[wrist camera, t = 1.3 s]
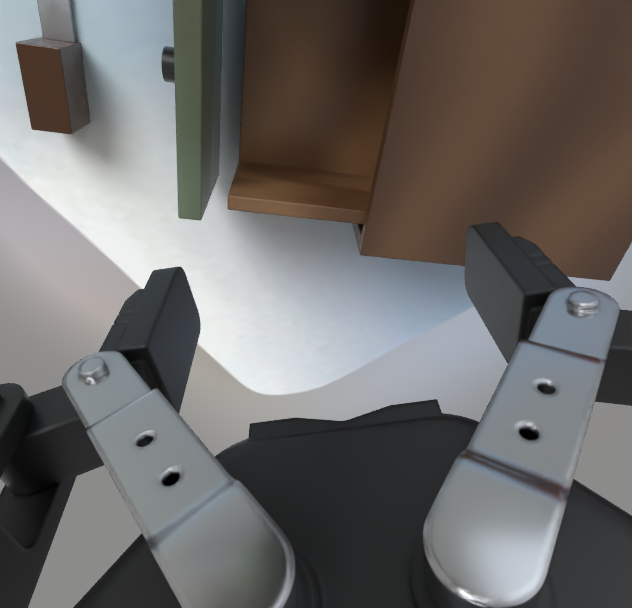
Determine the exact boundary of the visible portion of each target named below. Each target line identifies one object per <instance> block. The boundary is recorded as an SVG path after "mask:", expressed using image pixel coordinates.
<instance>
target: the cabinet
mask: <svg viewBox="0 0 632 608" xmlns="http://www.w3.org/2000/svg"><path fill="white" fill-rule="evenodd" d="M490 222H499V223H500V224H501V225H502V226H503V227H504V229H505V230H506V231H507V232H508V233H509V234H510V235H511V236H512V237H516V236H520V237H522V238H524V239H526V240H528V241H531V242H533V243H535V244H536V245H537V246H538V247H539V248H540V249H541V250H542V251H543V252H544V253H545V256H547V257H548V258H549V259H550V260H551V261H552V263H553V264H555V265H556V266H557V267H558V268H559V269H560V270H561V271H562V272H563V273H564V274H565V275H566V276H567V277H577V278H587V279H596V280H606V281H610V280H611V278H612V276H613V274H614V272H615V271H616V269H617V267H618V265H619V264H620V262H621V260H622V258H623V257H624V255H625V253H626V251H627V249H628V248H629V246H630V244H631V242H632V0H411V1H410V6H409V10H408V15H407V20H406V25H405V29H404V34H403V39H402V44H401V49H400V53H399V58H398V63H397V68H396V72H395V77H394V82H393V87H392V92H391V96H390V101H389V106H388V111H387V115H386V120H385V125H384V130H383V135H382V139H381V144H380V149H379V154H378V158H377V163H376V168H375V173H374V178H373V182H372V187H371V192H370V197H369V201H368V206H367V211H366V216H365V221H364V224H355V223H352V224H353V228H354V232H355V236H356V240H357V243H358V247H359V251H360V255H364V256H373V257H383V258H393V259H402V260H412V261H422V262H431V263H441V264H451V265H460V266H465V256H466V236H467V229H468V227H469V226H470V225H476V224H483V223H490Z"/></svg>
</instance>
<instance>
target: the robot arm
mask: <svg viewBox="0 0 632 608" xmlns="http://www.w3.org/2000/svg"><path fill="white" fill-rule="evenodd" d="M465 285H466V290H467V293H468V296H469V298H470V299H471V301H472V303H473V304H474V306H475V308H476V309H477V311H478V313H479V315H480V316H481V318H482V320H483V321H484V323H485V325H486V327H487V329H488V330H489V332H490V334H491V336H492V337H493V339H494V341H495V342H496V344H497V346H498V348H499V349H500V351H501V353H502V355H503V356H504V358H505V360H506V362H507V363H508V366H507V368H506V370H505V372H504V374H503V376H502V378H501V380H500V382H499V384H498V386H497V388H496V390H495V392H494V394H493V396H492V398H491V400H490V402H489V404H488V406H487V408H486V410H485V412H484V414H483V417H482V418H481V420H480V422H478V421H475V420H472V419H469V418H465V417H462V416H457V415H452V414H443V413H442V412H441V410H440V407H439V404H438V401H437V400H428V401H420V402H412V403H405V404H398V405H390V406H387V407H384V408H381V409H379V410H376V411H373V412H370V413H367V414H364V415H361V416H358V417H355V418H352V419H350V420H346V421H331V420H318V419H305V418H290V419H282V420H274V421H267V422H259V423H252V424H250V429H249V438H248V439H246V440H243V441H241V442H238V443H236V444H234V445H232V446H230V447H229V448H227V449H225V450H224V451H222V452H221V453H219V454H218V455H216V456H215V457H214V456H213V455H212V453H211V452H210V451H209V450H208V448H207V447H206V446H205V445H204V444H203V443H202V441H201V440H200V439H199V438H198V436H196V434H195V433H194V432H193V430H192V429H191V428H190V427H189V426H188V424H186V422H185V421H184V420H183V418H182V417H181V416H180V415H179V411H180V408H181V403H182V400H183V396H184V392H185V388H186V384H187V380H188V376H189V373H190V369H191V365H192V361H193V357H194V354H195V349H196V346H197V342H198V338H199V334H200V317H199V313H198V309H197V307H196V304H195V301H194V298H193V295H192V292H191V289H190V286H189V283H188V280H187V277H186V275H185V272H184V270H183V269H182V268H181V267H173V268H166V269H159V270H154V271H153V272H152V274H151V276H150V278H149V280H148V282H147V284H146V286H145V288H144V289H140V290H137V291H136V292H135V293H134V294H133V295H131V296H130V297H129V298H128V299H127V300H126V301H125V303H124V304H123V306H122V308H121V310H120V312H119V315H118V316H117V318H116V320H115V322H114V325H113V326H112V328H111V329H110V331H109V333H108V335H107V337H106V339H105V341H104V343H103V345H102V347H101V348H100V351H99V352H98V353H94V354H92V355H89V356H87V357H85V358H83V359H81V360H80V361H78V362H77V363H75V364H74V365H73V366H71V367H70V368H69V370H68V371H67V372H66V373H65V375H64V377H63V379H62V385H61V386H59V387H56V388H53V389H50V390H47V391H45V392H41V393H39V394H36V395H33V396H30V397H28V395H27V394H26V392H25V391H24V390H23V388H22V387H21V386H20V385H18V384H14V383H7V384H1V385H0V479H1V480H2V481H3V482H4V483H5V486H4V488H3V490H2V492H1V494H0V608H28V606H29V603H30V600H31V598H32V595H33V592H34V590H35V587H36V584H37V582H38V579H39V576H40V573H41V571H42V568H43V565H44V562H45V560H46V557H47V555H48V551H49V549H50V546H51V544H52V541H53V538H54V536H55V533H56V530H57V527H58V525H59V522H60V519H61V517H62V514H63V511H64V508H65V506H66V503H67V500H68V498H69V495H70V492H71V490H72V487H73V484H74V482H75V479H76V476H78V475H80V474H83V473H85V472H88V471H90V470H93V469H95V468H98V467H100V466H103V465H105V467H106V468H107V470H108V472H109V474H110V476H111V478H112V479H113V481H114V483H115V485H116V487H117V489H118V490H119V492H120V494H121V496H122V498H123V499H124V501H125V503H126V505H127V507H128V508H129V510H130V512H131V514H132V516H133V518H134V519H135V521H136V523H137V525H138V526H139V528H140V530H141V532H142V534H141V535H140V536H139V537H138V538H137V539H136V540H135V541H134V542H133V543H132V544H131V546H130V547H129V548H128V549H127V550H126V551H125V552H124V553H123V554H122V555H121V556H120V558H119V559H118V560H117V561H116V562H115V563H114V564H113V565H112V566H111V567H110V568H109V569H108V570H107V572H106V573H105V574H104V575H103V576H102V577H101V578H100V579H99V580H98V581H97V583H95V585H94V586H93V587H92V588H91V589H90V590H89V591H88V592H87V593H86V595H84V597H83V598H82V599H81V600H80V601H79V602H78V603H77V604H76V605H75V606H74V607H73V608H632V516H631V515H630V514H628V513H627V512H625V511H623V510H622V509H620V508H619V507H617V506H616V505H614V504H612V503H611V502H609V501H608V500H606V499H605V498H603V497H601V496H600V495H598V494H597V493H595V492H593V491H592V490H590V489H589V488H587V487H585V486H584V485H583V484H581V483H579V482H578V481H576V480H575V479H573V478H574V474H575V470H576V467H577V463H578V460H579V456H580V453H581V449H582V445H583V442H584V438H585V434H586V431H587V427H588V424H589V420H590V417H591V413H592V409H593V406H594V402H604V403H613V404H623V405H631V406H632V311H628V310H620V308H619V305H618V303H617V302H616V301H615V300H614V299H613V298H612V297H610V296H609V295H607V294H605V293H603V292H601V291H598V290H595V289H590V288H584V287H576V286H575V285H574V284H573V283H572V282H571V281H570V280H569V279H568V278H567V276H566V275H565V274H564V273H563V272H562V271H561V270H560V269H559V268H558V267H557V266H556V265H555V264H553V263H552V261H551V260H550V259H549V258H548V257H547V256H545V253H544V252H543V251H542V250H541V249H540V248H539V247H538V246H537V245H536V244H535V243H533V242H531V241H528V240H526V239H524V238H522V237H520V236H516V237H512V236H511V235H510V234H509V233H508V232H507V231H506V230H505V229H504V227H503V226H502V225H501V224H500V223H499V222H490V223H483V224H476V225H470V226H469V227H468V229H467V236H466V256H465Z"/></svg>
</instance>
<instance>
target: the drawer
mask: <svg viewBox="0 0 632 608" xmlns="http://www.w3.org/2000/svg"><path fill="white" fill-rule="evenodd" d="M410 1H411V0H246V19H245V40H244V61H243V82H242V104H241V125H240V146H239V162H238V165H237V169H236V172H235V175H234V179H233V182H232V185H231V188H230V192H229V195H228V209H229V210H238V211H247V212H256V213H265V214H274V215H283V216H292V217H301V218H310V219H319V220H328V221H337V222H346V223H355V224H364V221H365V216H366V211H367V206H368V201H369V197H370V192H371V187H372V182H373V178H374V173H375V168H376V163H377V158H378V154H379V149H380V144H381V139H382V135H383V130H384V125H385V120H386V115H387V111H388V106H389V101H390V96H391V92H392V87H393V82H394V77H395V72H396V68H397V63H398V58H399V53H400V49H401V44H402V39H403V34H404V29H405V25H406V20H407V15H408V10H409V6H410ZM173 25H174V48H173V47H167V46H166V47H164V49H163V52H162V74H163V78H164V80H165V81H166V82H172V83H175V103H176V143H177V182H178V217H179V218H183V219H192V220H201V219H202V217H203V214H204V212H205V209H206V207H207V204H208V201H209V199H210V196H211V194H212V191H213V189H214V186H215V184H216V181H217V178H218V176H219V155H220V113H221V72H222V31H223V0H173Z"/></svg>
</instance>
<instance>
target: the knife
mask: <svg viewBox="0 0 632 608" xmlns="http://www.w3.org/2000/svg"><path fill="white" fill-rule="evenodd" d="M37 2H38V9H39V15H40V21H41V27H42V34H43V38H42V37H41V38H36V39H30V40H25V41H20V42H16V48H17V53H18V58H19V64H20V69H21V74H22V80H23V85H24V90H25V95H26V101H27V106H28V111H29V117H30V122H31V127H32V129H33V130H40V131H48V132H56V133H64V134H73V133H75V132H76V131H78V130H79V129H81V128H82V127H84V126H85V125H87V124H88V123H90V116H89V108H88V99H87V91H86V83H85V75H84V67H83V58H82V50H81V44H80V43H76V37H75V29H74V21H73V13H72V5H71V0H37Z"/></svg>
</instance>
